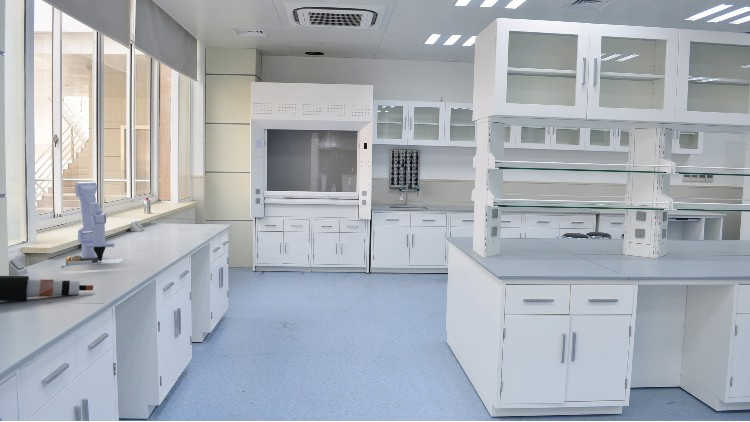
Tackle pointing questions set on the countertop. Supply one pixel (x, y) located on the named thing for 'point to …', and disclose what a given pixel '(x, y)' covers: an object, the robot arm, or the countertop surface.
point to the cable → (36, 288)
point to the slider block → (76, 258)
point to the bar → (90, 259)
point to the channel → (89, 262)
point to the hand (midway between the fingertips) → (100, 260)
